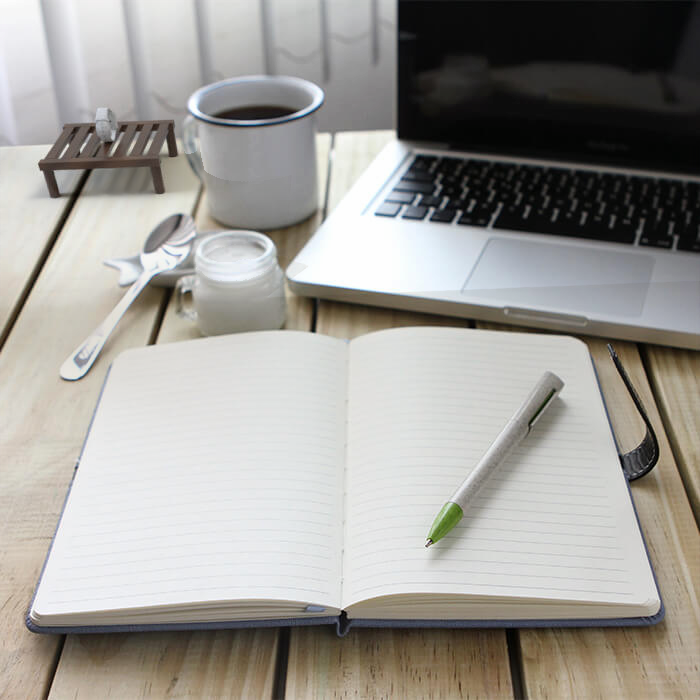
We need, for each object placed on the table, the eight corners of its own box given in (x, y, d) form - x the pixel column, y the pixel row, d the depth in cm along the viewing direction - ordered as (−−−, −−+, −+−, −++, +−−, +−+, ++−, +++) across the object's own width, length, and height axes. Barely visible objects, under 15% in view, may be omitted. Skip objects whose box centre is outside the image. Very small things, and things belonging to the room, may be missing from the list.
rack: (47, 198, 94) (37, 163, 91) (73, 156, 103) (64, 123, 100) (164, 194, 94) (158, 158, 91) (179, 152, 103) (174, 119, 100)
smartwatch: (115, 146, 94) (108, 113, 92) (97, 147, 94) (89, 114, 92) (120, 134, 97) (113, 102, 95) (102, 135, 97) (95, 103, 94)
